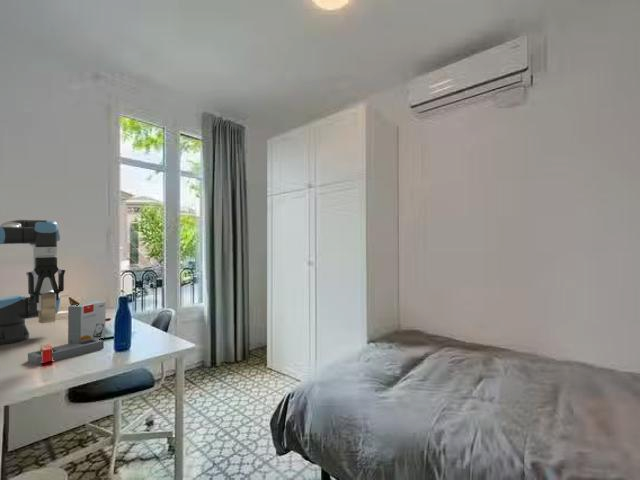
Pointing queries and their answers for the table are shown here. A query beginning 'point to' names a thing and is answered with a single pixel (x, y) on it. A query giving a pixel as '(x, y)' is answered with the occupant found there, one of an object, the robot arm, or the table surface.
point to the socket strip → (68, 350)
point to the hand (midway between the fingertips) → (46, 308)
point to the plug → (47, 307)
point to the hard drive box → (86, 321)
